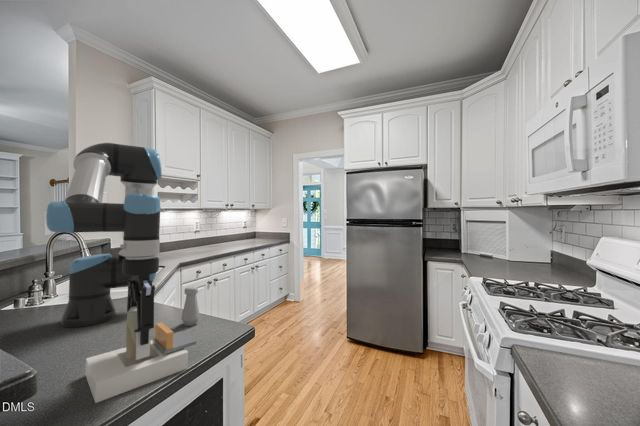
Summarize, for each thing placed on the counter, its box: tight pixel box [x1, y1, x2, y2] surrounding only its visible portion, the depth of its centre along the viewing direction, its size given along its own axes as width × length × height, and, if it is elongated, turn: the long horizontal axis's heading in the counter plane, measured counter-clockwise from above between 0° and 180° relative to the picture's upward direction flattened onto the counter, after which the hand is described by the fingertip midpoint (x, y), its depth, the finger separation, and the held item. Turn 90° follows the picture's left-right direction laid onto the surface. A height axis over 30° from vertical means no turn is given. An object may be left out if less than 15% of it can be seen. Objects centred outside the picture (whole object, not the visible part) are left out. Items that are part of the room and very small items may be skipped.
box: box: [125, 306, 152, 360], centre depth 66 cm, size 5×4×11 cm
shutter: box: [152, 321, 197, 354], centre depth 72 cm, size 9×8×5 cm
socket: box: [85, 339, 189, 404], centre depth 66 cm, size 14×18×4 cm
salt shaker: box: [180, 285, 200, 327], centre depth 97 cm, size 6×6×13 cm
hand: (138, 352), depth 66 cm, fingers closed on box, 6 cm apart
